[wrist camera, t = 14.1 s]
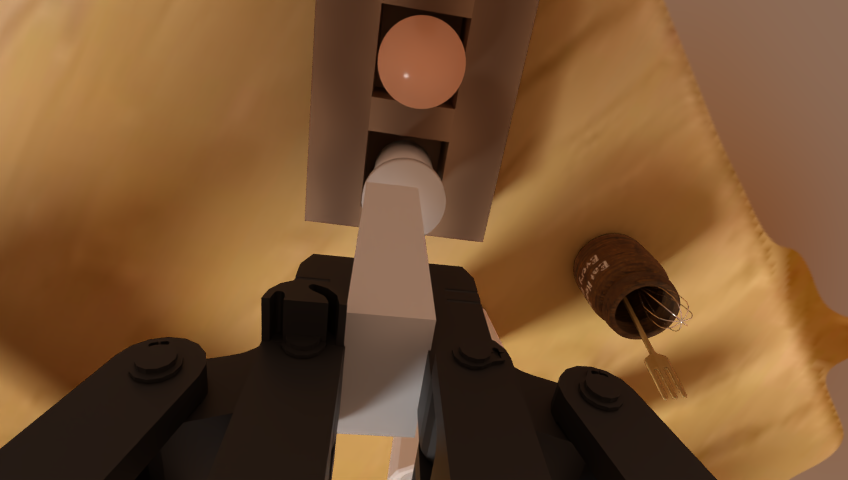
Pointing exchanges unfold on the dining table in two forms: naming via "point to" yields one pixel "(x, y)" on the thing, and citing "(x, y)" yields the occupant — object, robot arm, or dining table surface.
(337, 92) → the wooden peg tray
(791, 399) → the dining table surface
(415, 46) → the terracotta plug
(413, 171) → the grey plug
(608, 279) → the utensil holder
